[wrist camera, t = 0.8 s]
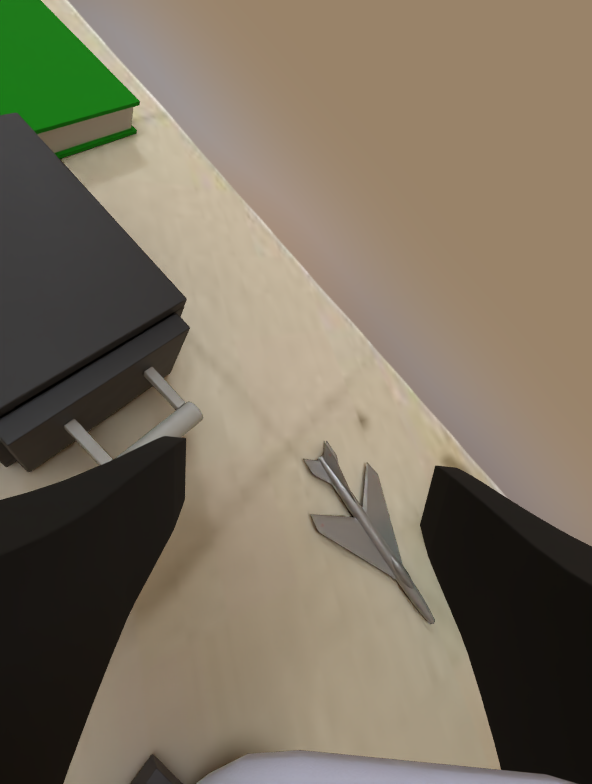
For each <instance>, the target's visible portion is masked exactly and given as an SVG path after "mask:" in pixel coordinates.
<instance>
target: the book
mask: <svg viewBox="0 0 592 784" xmlns="http://www.w3.org/2000/svg"><path fill="white" fill-rule="evenodd" d="M139 104H140V101H139V100H138V99H137V98H136V97H135V96H134V95H133V94H132V93H131V92H130V91H129V90H128V89H127V88H126V87H125V86H124V85H123V84H122V83H121V82H120V81H119V80H118V79H117V78H116V77H115V76H114V75H113V74H112V73H111V72H110V71H109V70H108V69H107V68H106V67H105V65H104V64H103V63H102V62H101V61H100V60H99V59H98V58H97V57H96V56H95V55H94V54H93V53H92V52H91V51H90V50H89V49H88V48H87V47H86V46H85V45H84V44H83V43H82V42H81V41H80V40H79V39H78V38H77V37H76V36H75V35H74V34H73V33H72V32H71V31H70V30H69V29H68V28H67V27H66V26H65V25H64V24H63V23H62V22H61V21H60V20H59V19H58V18H57V17H56V16H55V15H54V13H53V12H52V11H51V10H50V9H49V8H48V7H47V6H46V5H45V4H44V3H43V2H42V1H41V0H0V115H4V114H10V113H18V114H19V115H20V116H21V117H22V118H23V119H24V121H25V122H26V123H27V124H28V125H29V126H30V127H31V128H32V129H33V130H34V132H35V133H36V134H37V135H38V136H39V137H40V138H41V139H42V140H43V141H44V143H45V144H46V145H47V146H48V147H49V148H50V149H51V150H52V151H53V152H54V154H55V155H56V156H57V157H58V158H59V159H61V158H64V157H67V156H70V155H73V154H76V153H79V152H82V151H85V150H88V149H91V148H94V147H97V146H100V145H103V144H106V143H109V142H112V141H115V140H118V139H121V138H124V137H127V136H130V135H133V134H136V132H137V130H136V129H135V128H134V127H133V126H132V114H133V107H134V106H138V105H139Z"/></svg>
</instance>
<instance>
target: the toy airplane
mask: <svg viewBox="0 0 592 784" xmlns="http://www.w3.org/2000/svg"><path fill="white" fill-rule="evenodd" d="M304 461H305V462H306V464H307V465H308V467H309V468H310V470H311V471H312V473H313V474H314V475H315V476H317V477H319V478H321V479H323V480H325V481H326V482H328V483H330V484H332V485H333V487H334V488H335V490H336V491H337V493H338V494H339V496H340V498H341V499H342V501H343V502H344V504H345V505H346V507H347V508H348V510H349V511H350V512H351V514H352V515H353V517H343V516H328V515H313V514H310V515H311V517H312V519H313V521H314V523H315V526H316V528H317V530H318V532H320V533H321V534H323V535H325V536H326V537H328V538H330V539H331V540H333V541H334V542H336V543H338V544H339V545H341V546H343V547H344V548H346V549H347V550H349V551H351V552H352V553H354V554H356V555H357V556H359V557H361V558H362V559H364V560H365V561H367V562H369V563H370V564H372V565H374V566H375V567H377V568H378V569H380V570H382V571H383V572H385V573H387V574H388V575H390V576H392V577H393V578H395V579H396V580H397V582H398V583H399V585H400V586H401V588H402V589H403V590H404V592H405V593H406V595H407V596H408V598H409V599H410V600H411V602H412V603H413V604H414V606H415V607H416V608H417V609H418V611H419V612H420V613H421V614H422V615H423V616H424V618H425V619H426V620H427V621H428V622H429V623H430V624H434V622H435V619H434V617H433V615H432V613H431V611H430V609H429V608H428V606H427V604H426V602H425V600H424V599H423V597H422V595H421V594H420V592H419V590H418V589H417V587H416V586H415V584H414V583H413V581H412V580H411V577H410V576H409V574H408V572H407V571H406V569H405V568H404V567H403V564H402V561H401V557H400V553H399V550H398V546H397V543H396V539H395V535H394V532H393V528H392V524H391V521H390V517H389V513H388V510H387V506H386V503H385V499H384V495H383V492H382V488H381V484H380V481H379V477H378V474H377V473H376V472H375V470H374V469H373V468H372V467H371V466H370V465H369V464H368V463H367V465H366V476H365V487H364V498H363V508H362V507H361V505H360V504H359V502H358V501H357V499H356V498H355V496H354V495H353V494H352V492H351V491H350V489H349V487H348V484H347V482H346V480H345V478H344V476H343V473H342V471H341V469H340V467H339V465H338V459H337V455H336V454H335V452H334V451H333V449H332V448H331V446H330V445H329V443H328V442H327V441H326V443H325V441H324V449H323V455H322V456H320V457H319V458H318V459H317V460H309V459H304Z"/></svg>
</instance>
